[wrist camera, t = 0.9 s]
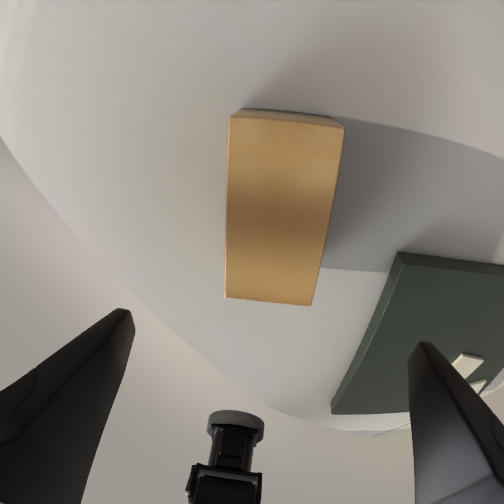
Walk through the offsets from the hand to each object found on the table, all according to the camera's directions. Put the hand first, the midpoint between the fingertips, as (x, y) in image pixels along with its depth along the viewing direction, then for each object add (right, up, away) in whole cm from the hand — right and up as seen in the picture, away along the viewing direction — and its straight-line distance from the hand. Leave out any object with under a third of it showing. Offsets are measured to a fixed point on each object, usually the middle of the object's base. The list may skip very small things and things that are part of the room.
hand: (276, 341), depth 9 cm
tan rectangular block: (+1, +6, +9) cm, 11 cm away
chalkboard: (+18, -7, +15) cm, 25 cm away
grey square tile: (+20, -9, +15) cm, 27 cm away
